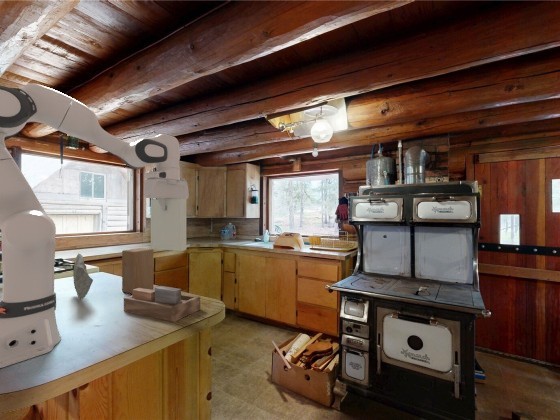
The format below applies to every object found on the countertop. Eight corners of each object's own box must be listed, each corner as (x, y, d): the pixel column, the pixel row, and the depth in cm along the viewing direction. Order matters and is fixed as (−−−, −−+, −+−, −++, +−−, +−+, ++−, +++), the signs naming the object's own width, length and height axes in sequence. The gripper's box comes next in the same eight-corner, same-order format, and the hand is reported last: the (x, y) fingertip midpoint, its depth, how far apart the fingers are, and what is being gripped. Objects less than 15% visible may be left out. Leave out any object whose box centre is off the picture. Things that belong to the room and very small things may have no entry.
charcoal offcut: (175, 318, 100) (175, 291, 101) (154, 314, 105) (154, 287, 105) (181, 315, 103) (181, 288, 103) (161, 312, 107) (161, 286, 107)
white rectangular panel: (180, 251, 107) (180, 199, 107) (150, 248, 114) (150, 199, 114) (186, 250, 110) (186, 199, 110) (156, 247, 117) (156, 200, 117)
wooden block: (121, 292, 134) (121, 250, 134) (140, 286, 143) (140, 247, 143) (135, 294, 129) (135, 251, 129) (153, 289, 138) (153, 249, 138)
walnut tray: (174, 321, 98) (174, 307, 98) (123, 311, 108) (123, 298, 108) (200, 309, 110) (200, 296, 110) (152, 300, 121) (152, 289, 121)
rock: (94, 305, 114) (94, 256, 114) (75, 309, 110) (75, 258, 110) (84, 291, 134) (84, 250, 134) (68, 294, 130) (68, 251, 130)
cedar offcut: (150, 313, 105) (150, 292, 105) (132, 310, 109) (132, 289, 109) (157, 311, 108) (157, 290, 108) (139, 307, 112) (139, 287, 112)
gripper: (181, 179, 123) (181, 210, 123) (141, 173, 104) (141, 210, 104) (192, 178, 120) (192, 210, 120) (153, 172, 101) (153, 210, 101)
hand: (168, 210), depth 112 cm, fingers closed on white rectangular panel, 3 cm apart
